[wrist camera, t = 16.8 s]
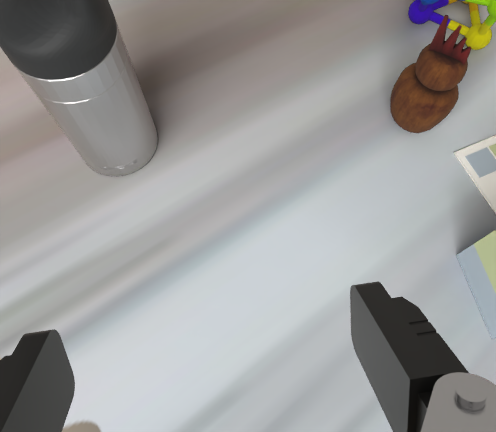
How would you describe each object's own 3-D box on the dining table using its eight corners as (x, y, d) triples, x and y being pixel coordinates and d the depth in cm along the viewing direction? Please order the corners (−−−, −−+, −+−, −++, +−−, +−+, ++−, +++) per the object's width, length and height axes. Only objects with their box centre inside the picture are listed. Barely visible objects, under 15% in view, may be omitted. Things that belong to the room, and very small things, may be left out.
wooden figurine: (373, 112, 54) (416, 16, 40) (407, 88, 56) (459, -13, 42) (413, 150, 52) (472, 63, 38) (447, 124, 54) (516, 31, 40)
